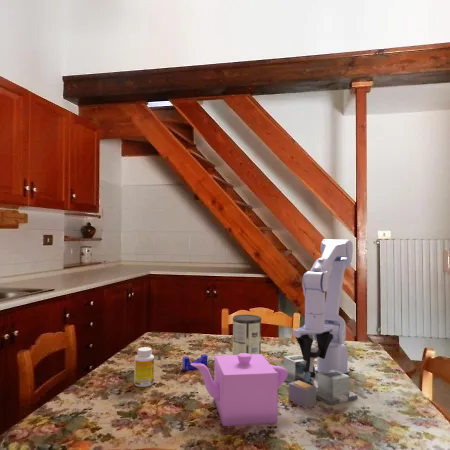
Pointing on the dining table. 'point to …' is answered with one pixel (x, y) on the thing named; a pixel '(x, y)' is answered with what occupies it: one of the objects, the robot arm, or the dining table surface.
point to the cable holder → (187, 363)
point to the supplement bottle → (144, 368)
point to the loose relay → (302, 393)
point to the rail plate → (320, 381)
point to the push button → (311, 364)
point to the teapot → (244, 388)
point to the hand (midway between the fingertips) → (314, 359)
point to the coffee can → (246, 334)
